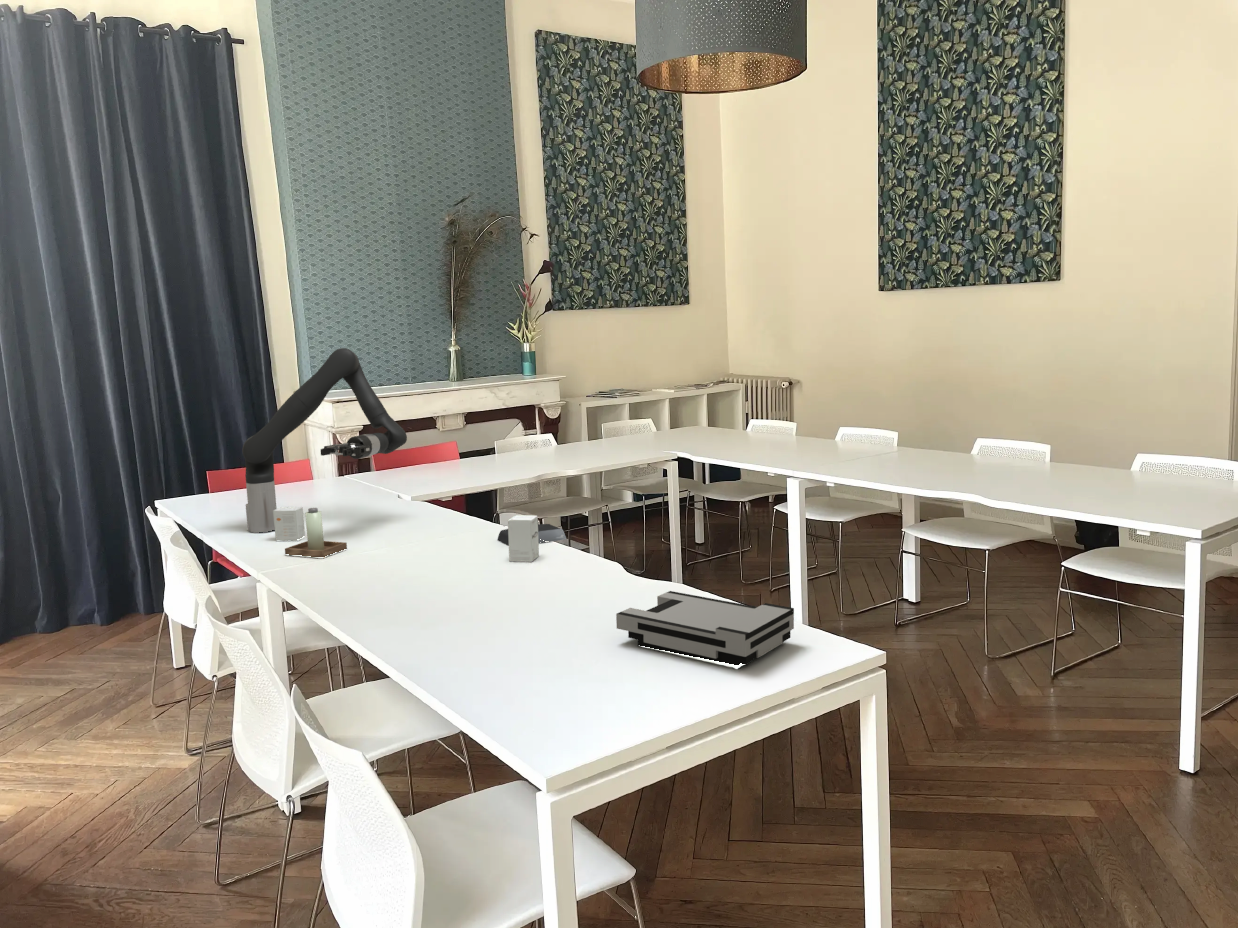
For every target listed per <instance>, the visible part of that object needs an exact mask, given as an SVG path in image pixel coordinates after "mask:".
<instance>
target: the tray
mask: <svg viewBox="0 0 1238 928" xmlns="http://www.w3.org/2000/svg"><path fill="white" fill-rule="evenodd" d="M347 543H348V542H344V541H329V540H324V550H322V551H319V550H308V540H306V541H303V542H300V543H297V544H294V545H291V546H288V547H285V548H284V555H285V554H289V555H302V556H311V557H325V556H327V555H330V554H333V553H335V552H339V551H341V550H344V549H347V550H348V545H347ZM339 553H340V552H339Z"/></svg>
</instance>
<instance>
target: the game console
mask: <svg viewBox="0 0 1238 928" xmlns="http://www.w3.org/2000/svg"><path fill="white" fill-rule="evenodd" d="M656 597H657V603H656V604H657V605H656V606H653V607H651V608H649V609H647V610H645V609H639V608H635V607H629V608H626V609H624V610H622V611H620V612H617V613H616V614H615V617H616V620H615V621H616V629H617V630H622V631H626V632H628V635H627V636H628V637H627V638H628V639H633V640H637V646H638V645H640V646H645V647H650V648H654V649H659V650H665V651H670V652H674V653H679V654H684V655H689V656H693V657H700V658H704V659H709V660H714V661H719V662H725V663H729V664H734V665H739V664H740V663H742V664H746V665H748V664H749V663H751V662H752V661H754V660H756V659H758V658H760V657H762V656H764V655H765V654H767V653H769V652H770V651H772V650H774V649H775V648H777V647H779V646H781V645H782V644H783V643H784V642H786V641H787V640H789V639H790V638H791V631H792V630H794V628H795V627H794V626H795V625H794V624H795V608H794V607H791V606H790V607H789V606H784V605H783V606H782V605H779V604H773V603H768V602H764V603H763V604H761V605H759V606H755V605H749V604H744V603H738V602H731V601H727V600H722V599H716V598H711V597H707V596H705V597H704V596H700V595H693V594H688V593H685V592H680V591H679V592H678V591H674V590H673V591H672V590H668V591H666V592H664V593H661V594H660V595H657V596H656ZM747 663H748V664H747Z"/></svg>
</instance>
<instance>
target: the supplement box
mask: <svg viewBox="0 0 1238 928" xmlns="http://www.w3.org/2000/svg"><path fill="white" fill-rule="evenodd" d="M538 524H539V519H538V515H525V514H524V515H517V514H516V515H514V516H512V517H510V519H508V520H507V529H508V539H509V546H508V561H509V562H514V563H515V562H517V563H518V562H521V563H532V562H533V561H535V560H536V558H538V557H540V550H539V549H540V547H539V546H540V545H539V542H538Z"/></svg>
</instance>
